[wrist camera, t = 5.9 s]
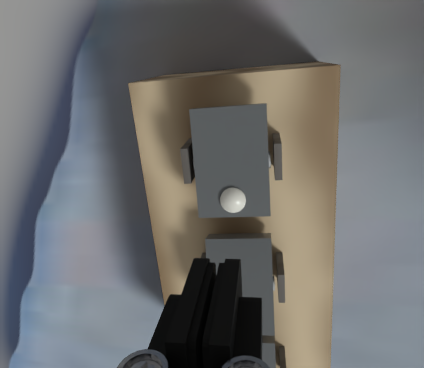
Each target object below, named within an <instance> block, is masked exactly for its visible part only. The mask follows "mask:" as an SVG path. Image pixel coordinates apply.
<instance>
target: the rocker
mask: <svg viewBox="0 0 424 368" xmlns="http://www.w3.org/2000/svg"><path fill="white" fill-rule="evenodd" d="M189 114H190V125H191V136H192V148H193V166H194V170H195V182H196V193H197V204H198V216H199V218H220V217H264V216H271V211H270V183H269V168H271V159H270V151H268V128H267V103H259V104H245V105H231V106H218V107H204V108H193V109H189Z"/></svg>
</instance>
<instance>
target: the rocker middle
mask: <svg viewBox="0 0 424 368" xmlns="http://www.w3.org/2000/svg"><path fill="white" fill-rule="evenodd" d="M205 246H206V258H209V259H210V262H213V263H215V264H216V275H217V271H218V266H219V263H224V262H225V259H241V273H242V297H259V298H262V335H267V336H275V325H274V298H273V291H275V281H274V276H273V271H272V244H271V233H234V234H209V235H208V236H207V237H206V239H205Z"/></svg>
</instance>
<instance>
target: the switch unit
mask: <svg viewBox="0 0 424 368" xmlns="http://www.w3.org/2000/svg"><path fill="white" fill-rule="evenodd" d="M128 86H129V92H130V98H131V104H132V110H133V116H134V122H135V128H136V134H137V140H138V146H139V152H140V159H141V165H142V171H143V177H144V183H145V189H146V195H147V201H148V207H149V213H150V219H151V226H152V232H153V238H154V244H155V250H156V256H157V262H158V268H159V274H160V280H161V286H162V292H163V299H164V305H165V304H166V301H167V299H168V297H169V295H170V294H182V291H183V288H184V285H185V282H186V279H187V276H188V273H189V271H190V268H191V265H192V262H193V259H194V258H206V246H205V239H206V237H207V236H208V235H209V234H234V233H271V244H272V271H273V276H274V281H275V291H273V298H274V325H275V358H276V368H330V363H331V333H332V303H333V273H334V243H335V213H336V184H337V154H338V124H339V94H340V65H338V64H331V63H325V62H319V61H318V62H307V63H296V64H284V65H273V66H262V67H251V68H239V69H228V70H217V71H205V72H194V73H183V74H172V75H162V76H158V77H154V78H149V79H145V80H140V81H136V82H132V83H128ZM259 103H267V128H268V151H270V159H271V168H269V183H270V211H271V216H264V217H220V218H199V216H198V204H197V193H196V182H195V170H194V166H193V148H192V136H191V125H190V114H189V109H193V108H204V107H218V106H231V105H245V104H259Z"/></svg>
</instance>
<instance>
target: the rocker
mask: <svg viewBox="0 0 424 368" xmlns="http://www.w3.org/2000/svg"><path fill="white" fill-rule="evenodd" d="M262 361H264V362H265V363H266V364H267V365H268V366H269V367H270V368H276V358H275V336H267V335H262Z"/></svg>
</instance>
